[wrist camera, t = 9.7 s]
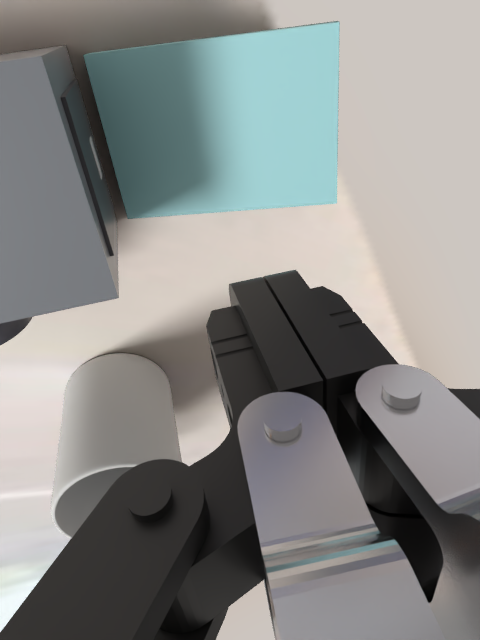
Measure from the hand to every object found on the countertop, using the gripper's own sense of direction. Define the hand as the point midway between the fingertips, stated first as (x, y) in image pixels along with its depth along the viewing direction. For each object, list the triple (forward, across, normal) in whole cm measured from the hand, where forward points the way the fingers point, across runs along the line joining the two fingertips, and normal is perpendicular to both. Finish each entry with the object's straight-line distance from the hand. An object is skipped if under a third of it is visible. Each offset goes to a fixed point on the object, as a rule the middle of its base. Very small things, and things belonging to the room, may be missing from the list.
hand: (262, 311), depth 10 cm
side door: (+20, +4, 0) cm, 21 cm away
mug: (+21, +9, +21) cm, 31 cm away
